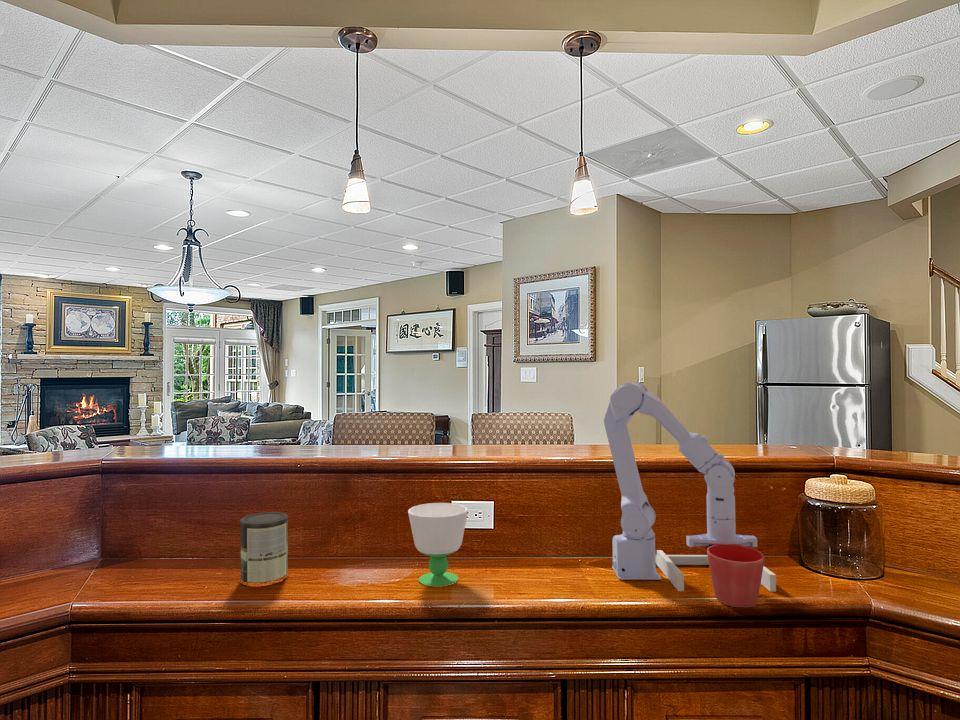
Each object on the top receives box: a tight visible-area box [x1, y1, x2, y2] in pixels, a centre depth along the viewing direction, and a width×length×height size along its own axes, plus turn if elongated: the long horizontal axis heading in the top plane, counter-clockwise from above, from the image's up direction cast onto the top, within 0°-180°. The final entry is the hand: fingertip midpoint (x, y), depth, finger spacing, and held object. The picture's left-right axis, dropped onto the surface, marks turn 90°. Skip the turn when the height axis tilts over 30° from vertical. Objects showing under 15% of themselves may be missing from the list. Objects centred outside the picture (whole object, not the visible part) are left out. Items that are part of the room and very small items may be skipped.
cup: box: [407, 502, 469, 587], centre depth 128 cm, size 14×14×16 cm
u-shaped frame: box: [655, 549, 777, 593], centre depth 129 cm, size 20×18×4 cm
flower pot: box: [706, 544, 765, 608], centre depth 115 cm, size 11×11×10 cm
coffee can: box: [239, 511, 289, 583], centre depth 130 cm, size 10×10×14 cm
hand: (722, 579), depth 123 cm, fingers closed
